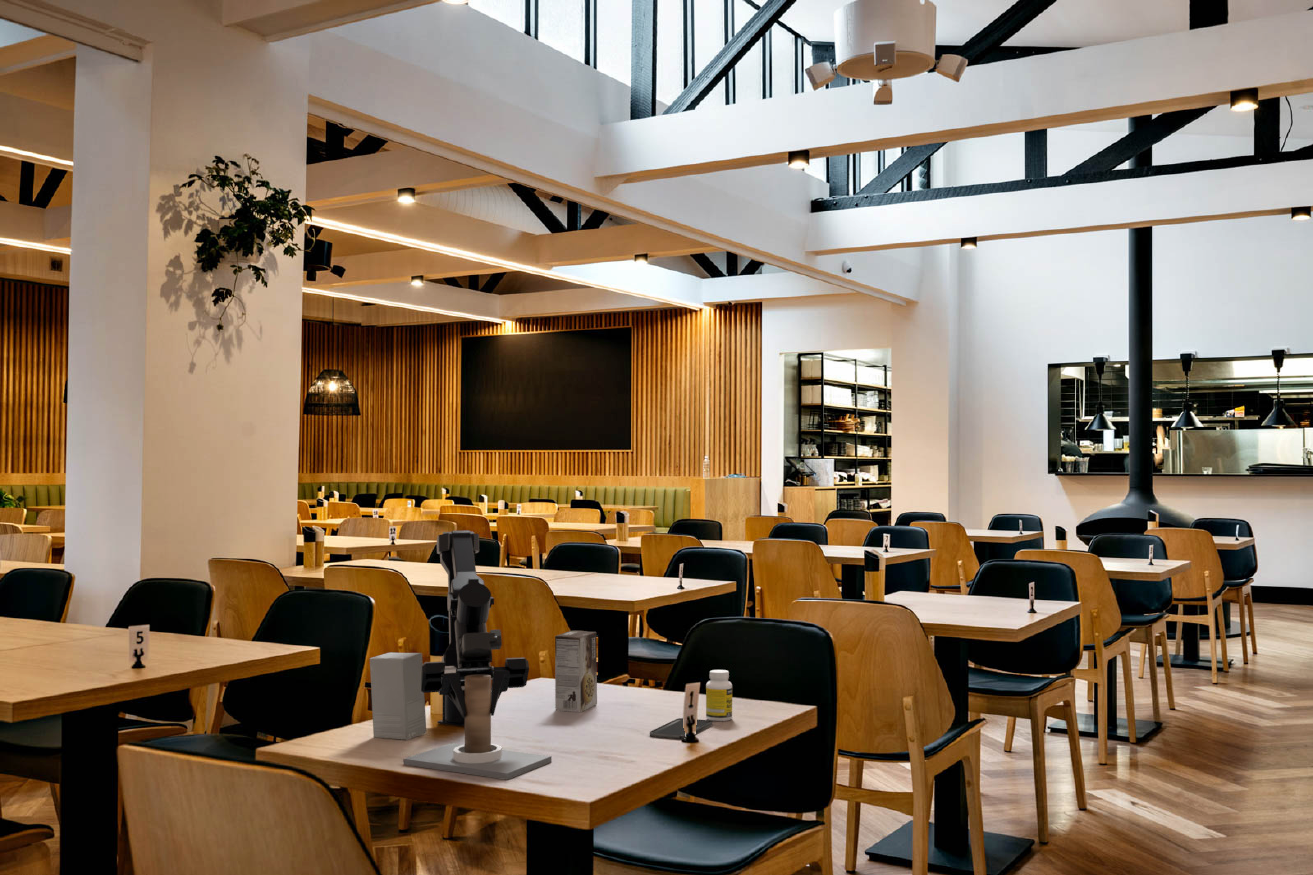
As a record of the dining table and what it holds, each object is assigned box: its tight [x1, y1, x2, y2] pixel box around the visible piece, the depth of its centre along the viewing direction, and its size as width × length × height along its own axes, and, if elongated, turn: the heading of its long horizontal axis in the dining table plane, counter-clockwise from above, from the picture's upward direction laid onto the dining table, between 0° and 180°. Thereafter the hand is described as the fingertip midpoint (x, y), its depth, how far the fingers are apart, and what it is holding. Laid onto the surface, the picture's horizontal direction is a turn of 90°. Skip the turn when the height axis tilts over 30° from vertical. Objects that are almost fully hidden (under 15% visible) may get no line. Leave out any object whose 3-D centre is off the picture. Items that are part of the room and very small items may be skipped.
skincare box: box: [369, 652, 427, 741], centre depth 210 cm, size 8×7×16 cm
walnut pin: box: [464, 674, 492, 753], centre depth 188 cm, size 4×4×13 cm
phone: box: [649, 717, 714, 741], centre depth 213 cm, size 8×1×15 cm
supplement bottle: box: [705, 669, 733, 722], centre depth 223 cm, size 5×5×10 cm
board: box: [403, 742, 553, 781], centre depth 188 cm, size 22×13×2 cm, turn 62°
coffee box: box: [554, 630, 598, 713], centre depth 236 cm, size 9×6×16 cm
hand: (478, 715), depth 187 cm, fingers closed on walnut pin, 4 cm apart
